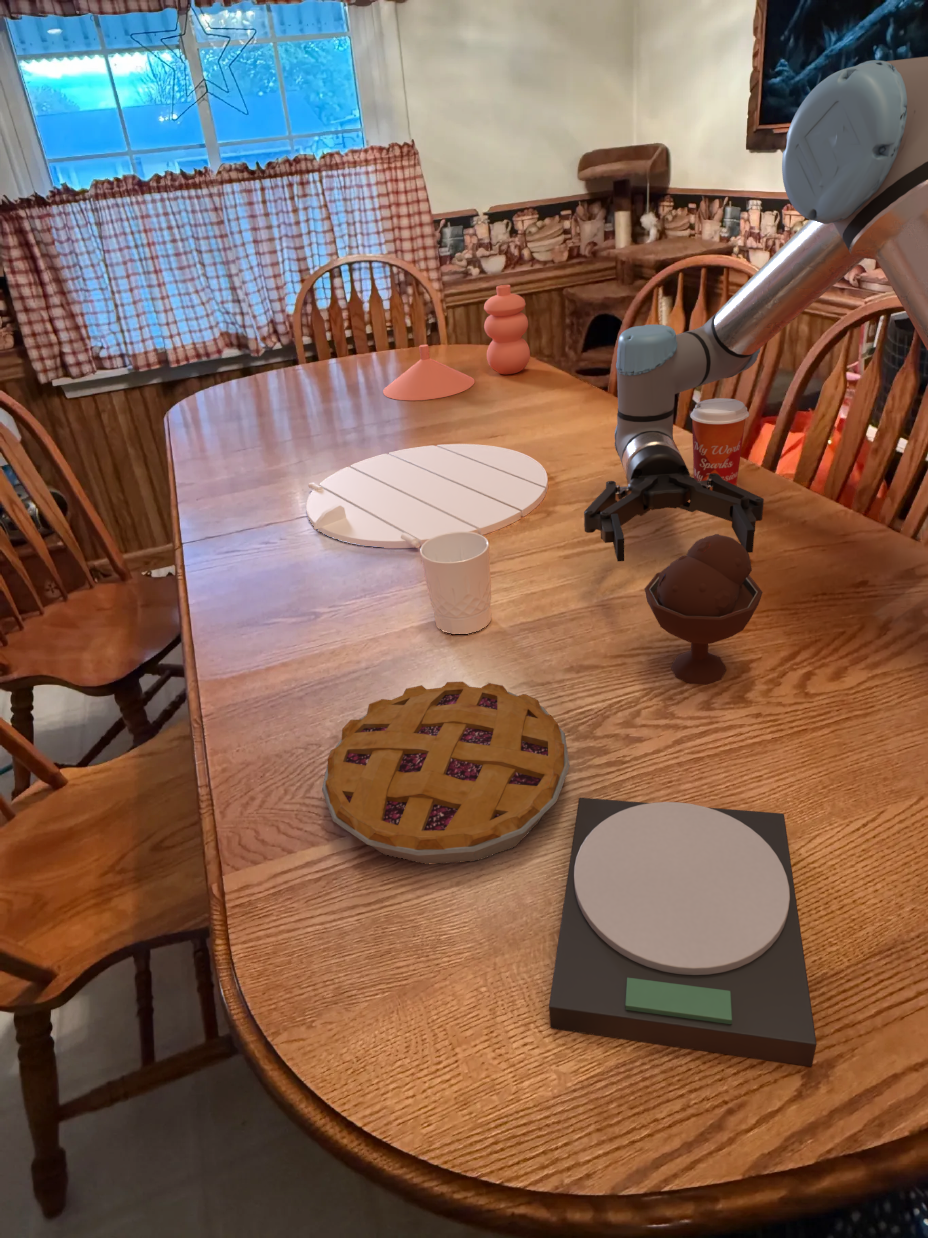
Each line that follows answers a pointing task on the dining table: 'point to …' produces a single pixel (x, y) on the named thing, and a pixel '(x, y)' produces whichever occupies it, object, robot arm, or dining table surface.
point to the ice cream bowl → (704, 603)
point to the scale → (683, 932)
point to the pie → (446, 772)
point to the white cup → (458, 580)
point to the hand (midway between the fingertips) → (685, 546)
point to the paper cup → (718, 438)
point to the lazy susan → (426, 494)
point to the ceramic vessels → (502, 354)
